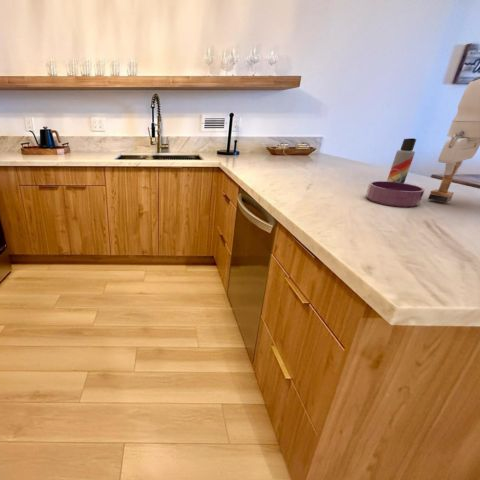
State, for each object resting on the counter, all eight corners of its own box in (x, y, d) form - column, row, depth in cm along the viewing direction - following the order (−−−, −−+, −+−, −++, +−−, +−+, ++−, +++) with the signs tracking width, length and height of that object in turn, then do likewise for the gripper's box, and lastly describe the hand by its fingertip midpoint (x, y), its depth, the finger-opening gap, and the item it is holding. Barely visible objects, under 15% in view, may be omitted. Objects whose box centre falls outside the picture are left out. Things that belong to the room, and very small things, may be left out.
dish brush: (450, 200, 101) (466, 163, 95) (446, 202, 99) (462, 164, 94) (432, 197, 105) (447, 161, 99) (428, 199, 103) (442, 162, 97)
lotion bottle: (388, 190, 117) (405, 138, 109) (382, 186, 122) (398, 137, 114) (404, 190, 116) (423, 138, 108) (397, 187, 121) (415, 137, 113)
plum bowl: (426, 203, 101) (432, 188, 99) (406, 210, 94) (412, 194, 91) (377, 193, 113) (382, 179, 111) (357, 199, 106) (361, 184, 103)
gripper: (469, 133, 85) (450, 179, 91) (491, 130, 95) (472, 172, 100) (441, 132, 90) (425, 176, 96) (465, 129, 99) (449, 169, 105)
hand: (449, 174), depth 98 cm, fingers closed on dish brush, 2 cm apart
